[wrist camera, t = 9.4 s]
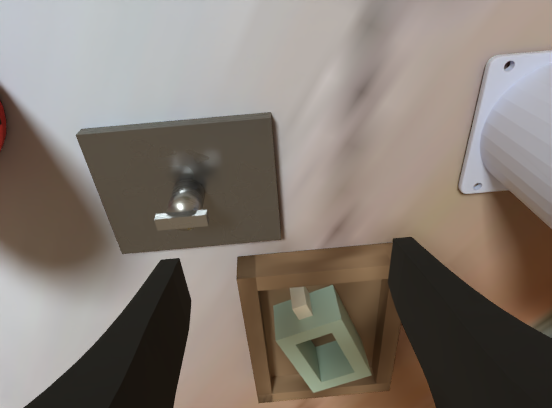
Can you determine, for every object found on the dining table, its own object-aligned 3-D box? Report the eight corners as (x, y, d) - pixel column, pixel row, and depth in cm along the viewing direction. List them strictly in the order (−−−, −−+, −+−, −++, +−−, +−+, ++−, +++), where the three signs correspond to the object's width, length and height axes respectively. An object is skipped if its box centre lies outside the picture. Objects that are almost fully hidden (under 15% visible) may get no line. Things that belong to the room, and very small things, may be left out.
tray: (400, 241, 26) (411, 263, 24) (382, 367, 33) (389, 390, 32) (237, 256, 25) (236, 279, 24) (258, 379, 33) (258, 403, 32)
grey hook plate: (270, 112, 20) (274, 141, 17) (280, 231, 24) (284, 271, 21) (81, 128, 20) (50, 160, 17) (125, 245, 24) (107, 287, 21)
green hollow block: (361, 340, 30) (371, 375, 28) (308, 357, 31) (313, 392, 29) (327, 273, 26) (335, 307, 23) (266, 295, 27) (267, 330, 24)
